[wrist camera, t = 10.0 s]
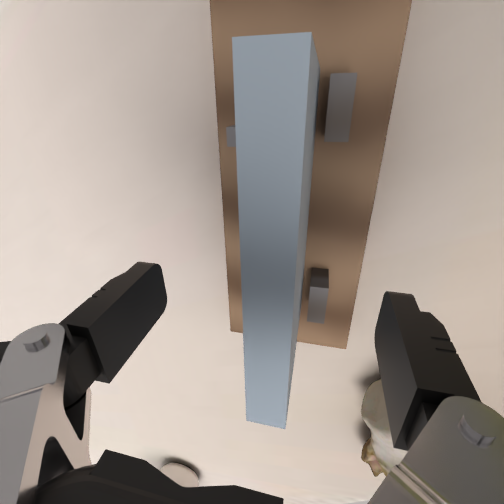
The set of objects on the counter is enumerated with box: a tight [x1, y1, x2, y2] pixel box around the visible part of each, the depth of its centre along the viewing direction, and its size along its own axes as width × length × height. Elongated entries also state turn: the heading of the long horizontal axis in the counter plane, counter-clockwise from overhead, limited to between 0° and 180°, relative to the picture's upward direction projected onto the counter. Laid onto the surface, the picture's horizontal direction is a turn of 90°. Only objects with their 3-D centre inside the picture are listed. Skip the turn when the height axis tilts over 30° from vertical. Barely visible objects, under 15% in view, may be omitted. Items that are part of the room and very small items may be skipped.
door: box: [226, 32, 320, 429], centre depth 15 cm, size 16×3×10 cm, turn 1°
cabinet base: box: [210, 0, 412, 349], centre depth 19 cm, size 24×10×4 cm, turn 1°
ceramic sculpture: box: [361, 379, 408, 477], centre depth 25 cm, size 11×9×15 cm
